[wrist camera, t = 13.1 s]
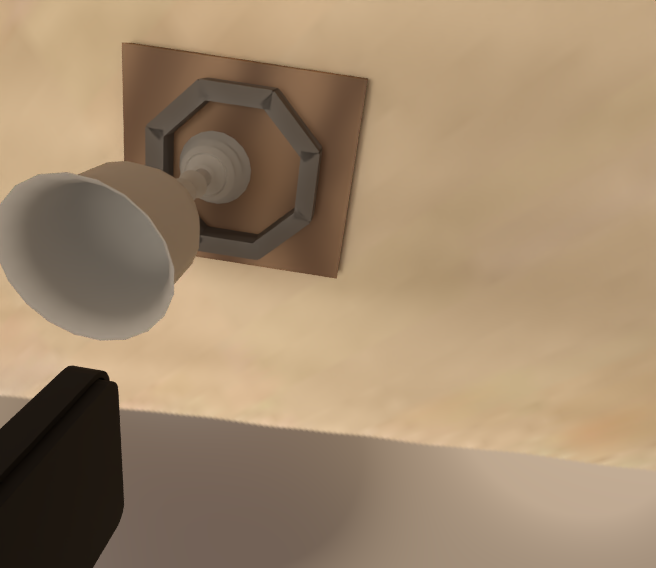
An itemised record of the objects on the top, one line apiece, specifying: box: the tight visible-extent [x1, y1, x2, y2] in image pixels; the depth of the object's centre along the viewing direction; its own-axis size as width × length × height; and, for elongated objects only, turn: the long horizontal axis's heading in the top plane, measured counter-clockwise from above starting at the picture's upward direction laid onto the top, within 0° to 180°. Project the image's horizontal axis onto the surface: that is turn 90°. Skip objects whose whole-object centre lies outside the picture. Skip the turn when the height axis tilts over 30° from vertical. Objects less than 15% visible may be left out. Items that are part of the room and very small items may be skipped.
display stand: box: [122, 43, 368, 278], centre depth 37 cm, size 16×14×4 cm
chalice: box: [0, 131, 251, 340], centre depth 29 cm, size 7×7×18 cm
